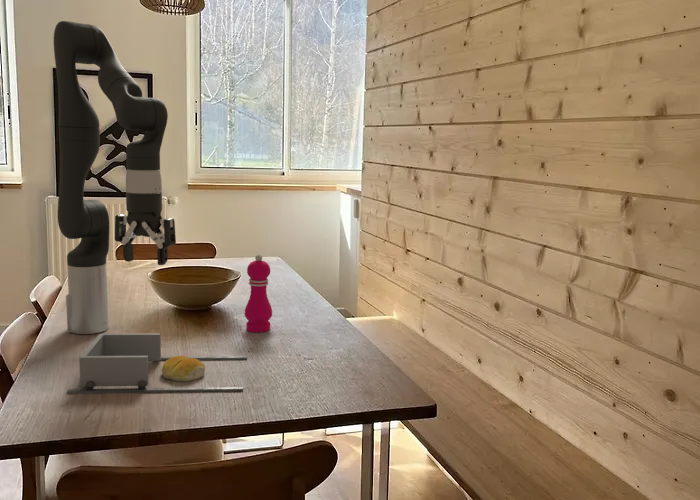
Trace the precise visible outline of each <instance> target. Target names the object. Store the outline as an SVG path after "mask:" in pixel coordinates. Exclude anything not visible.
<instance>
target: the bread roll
mask: <svg viewBox="0 0 700 500" xmlns="http://www.w3.org/2000/svg"><path fill="white" fill-rule="evenodd" d="M171 357H172V358H170V359H168V360H165V362H164V363H163V364H162V368H161V373H162V377H164V379H166V380H172V381H174V382H181V383H182V382H184V383H185V382H190V381H194V380H198V379H200V378H202V377H203V376H204V375H205V371H206V370H205V369H206V366H205V364H204V363H203V362H202V360H198V359H195V358H188V357H186V356H185V355H176V356H171Z"/></svg>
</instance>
